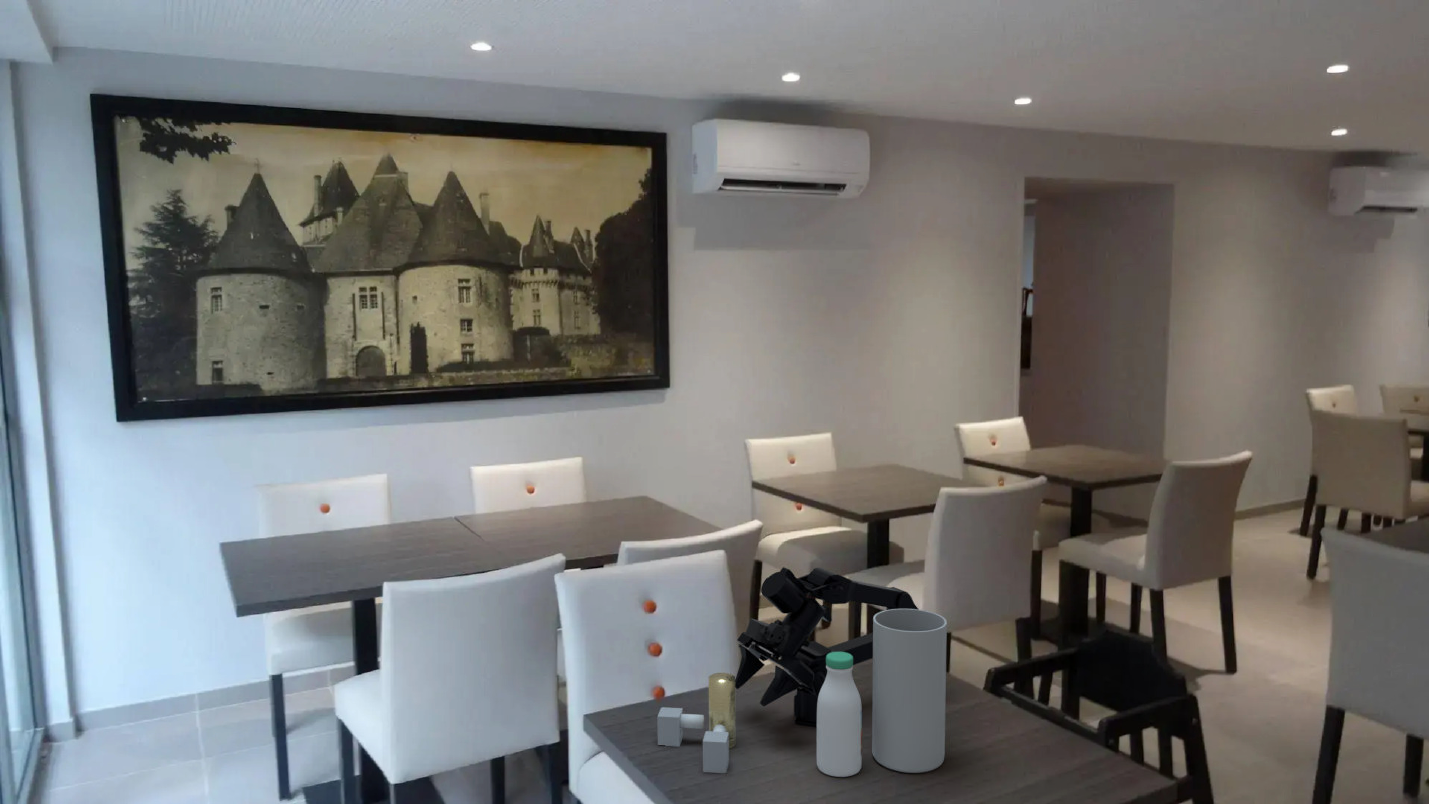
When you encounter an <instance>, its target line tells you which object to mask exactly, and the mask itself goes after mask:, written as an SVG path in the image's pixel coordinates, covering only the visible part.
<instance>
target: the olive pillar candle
mask: <svg viewBox="0 0 1429 804" xmlns="http://www.w3.org/2000/svg"><path fill="white" fill-rule="evenodd" d="M735 679H736V676H735V675H734V674H732V673H729V672H715V673H712V674H710V675H708V731H713V729H714V727H715V726H716V725H719V724H720V725H723V726H724V727H725V728H726V731H727V732H729V750H730V749H733V748H734V747H735V746H736V688H735Z"/></svg>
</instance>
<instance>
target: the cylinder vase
mask: <svg viewBox="0 0 1429 804" xmlns="http://www.w3.org/2000/svg"><path fill="white" fill-rule="evenodd" d="M872 623H873V624H872V632H873V659H872V711H871V712H872V713H871V715H872V718H871V720H872V723H871V725H872V727H871V732H872V733H871V735H872V736H871V753H872V755H873V758H874V760H875V761H876V762H877V763H879V764H880V765H882V766H883V767H885V768H887V769H890V770H893V771H896V772H901V773H906V774H907V773H908V774H910V773H911V774H919V773H927V772H931V771H933V770H935V769H938V768H940V767H941V765H942V764H943V762H944V759H945V753H946V751H945V748H946V746H945V745H946V739H945V738H946V736H945V735H946V689H947V688H946V687H947V686H946V685H947V684H946V683H947V682H946V681H947V680H946V679H947V633H948V632H947V630H948V629H947V627H948V626H947V625H948V624H947V619H946V618H945V617H944V616H942V615H940V614H938V613H936V612H935V613H934V612H931V611H927V610H923V609H919V610H917V609H891V610H883V611H879V612H877V613H875V614H874V615H873V618H872Z"/></svg>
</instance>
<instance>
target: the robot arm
mask: <svg viewBox="0 0 1429 804" xmlns="http://www.w3.org/2000/svg"><path fill="white" fill-rule="evenodd" d="M760 587H761V589H760V593H761V595H762V596H763V597H764V598H765V599H766V600H767V601H769V603H770V604H772V606H774V608H776V609H777V610H778V611H779V612H780V613H782V614H783V615H785V614H786V615H785V616H784V618H783V619H782V620H779V619H776V620H775V621H773V622H770V623H768V622H764V621H762V620H758V619H754V618H753V617H751V618H750V617H749V618H750V619H749V622H748V624H747V627H746V629H745V631H743V632H742V633H741V634H740V636H739V637H738V638H737V640H736V641H737V642H738V643H739V644H738V648H739V649H740V655H741V659H740V664H739V667H738V670H737V673H736V676H735V690H736V689H737V690H739V689H740V688H741V687H743V686H744V685H745V684H746V683H747V682H748V681H749V680H750V679H752V677H753V676H755V675H756V674H757V673H758V672H759V671H760V670H762V668H763V667H764V666H765V665H766V664H765V663H764V662H765V661H768V660H769V661H771V662H773V663H774V664H776V665H775V666H774V677H773V679H772V681H771V682H770V684H769V685H768V687H767V689H766V690H765V692H764V694H763V696H762V697H761V699H760V701H759V704H760V705H761V706H762V707H766V706H767V705H769V704H771V703H773V702H774V701H776V700H779V699H780V698H782V697H783V696H786V695H788V694H789V693H792V692H793V691H795V690H796V693H794V696H793V716H794V717H795V719H794V724H796V725H797V724H798V725H806V726H813V727H817V702H818V696H819V693H820V690H821V688H822V686H823V684H824V681H825V679H826V676H827V668H826V656H827V654H829V653H831V652H846V653H849V654H851V655H852V656H853V666H856V665H858V664H862V663H864V662H867V661H869V660H873V631H872V632H869V633H866V634H865V635H864V634H863V635H861V636H858V637H855V638H852V639H849V640H847V641H843V642H840V643H837V644H833V645H832V646H831V645H830V646H828V647H827V646H825V645H822V644H821V643H819V642H817V641H816V640H811V641H808V639H809V638H810V636H811V634H812V633H813V631H814V630H815V628H816V627H817V626H818V624H819V623H820V622H821V620H824V621H826V622H828V623H831V622H832V621H833V619H832V614H831V607H830V606H828V605H825V604H820V602H819V601H817V599H818V600H821V601H823V602H826V603H827V604H830V605H845V604H848V603H852V602H856V603H861V604H867V605H871V606H878V607H883V608H886V610H891V609H917V610H920V609H919V608H918V607H917V605H916V604H915V602H914V600H913V597H912V595H911V594H910V593H909V592H908V591H906V590H903V589H899V588H897V587H894V586H891V587H890V586H889V587H888V586H883V585H879V584H873V583H868V582H863V581H858V580H853V579H850V578H848V577H845V576H843V575H841V574H838V573H835V572H833V571H830V570H828V569H825V568H823V567H815V568H813V569H812V571H810V572H809V573H808V574H805V575H802V576H800V577H796V576H795V573H793V572H792V570H791V569H789V568H787V567H785V566H784V567H782V568H781V569H780V570H779V571H776V572H774V573H772V574H771V575H770V576H768V577H766V578H765V579H764V581H763V582H762V584H761V586H760ZM807 595H808V596H809V597H807ZM810 596H811V597H810ZM781 667H782V668H781Z"/></svg>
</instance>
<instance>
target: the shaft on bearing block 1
mask: <svg viewBox="0 0 1429 804" xmlns="http://www.w3.org/2000/svg"><path fill="white" fill-rule="evenodd" d="M683 710H684V709H683V708H682V707H681V708H680V707H661V708H660V710H659V712H658V715H657V717H656V718H657V721H656V722H657V746H658V745H665V746H664V747H678V748H680V746H681V744H682V740H683V738H684V728H685V729H701V730H702V729H704V725H705V715H704V714H694V713H693V714H692V713H684V711H683Z"/></svg>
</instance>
